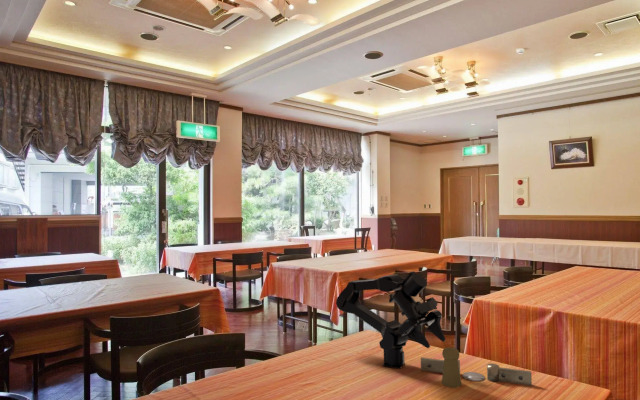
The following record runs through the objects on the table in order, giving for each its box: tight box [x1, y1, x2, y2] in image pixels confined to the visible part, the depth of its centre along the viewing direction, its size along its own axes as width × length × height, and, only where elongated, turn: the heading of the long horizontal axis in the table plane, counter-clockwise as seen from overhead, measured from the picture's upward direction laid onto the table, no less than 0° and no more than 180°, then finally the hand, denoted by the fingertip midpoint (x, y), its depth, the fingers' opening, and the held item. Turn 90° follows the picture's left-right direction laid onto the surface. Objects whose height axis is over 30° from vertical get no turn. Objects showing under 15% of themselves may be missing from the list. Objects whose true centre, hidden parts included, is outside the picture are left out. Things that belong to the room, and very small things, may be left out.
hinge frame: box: [420, 357, 533, 387], centre depth 136 cm, size 34×7×4 cm, turn 66°
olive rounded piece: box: [441, 347, 463, 389], centre depth 131 cm, size 6×6×11 cm
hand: (437, 344), depth 135 cm, fingers open, 9 cm apart
